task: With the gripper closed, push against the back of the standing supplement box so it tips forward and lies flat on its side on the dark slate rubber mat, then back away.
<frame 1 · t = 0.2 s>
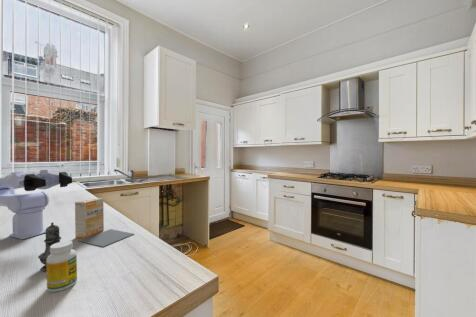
hand: (58, 181, 73), 21 cm above the countertop, tool horizontal, fingers open, 7 cm apart
slate mat: (107, 237, 77), on the countertop
supplement bottle: (62, 286, 49), on the countertop
supplement box: (90, 234, 81), on the countertop
stone chess piece: (53, 267, 57), on the countertop
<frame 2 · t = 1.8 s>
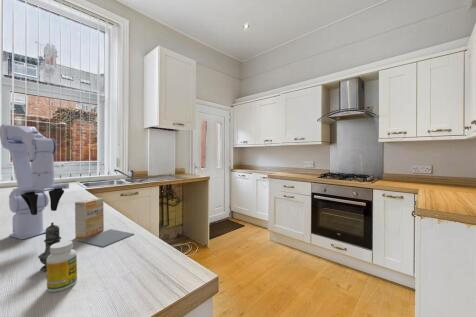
hand: (44, 212, 73), 10 cm above the countertop, tool pointing down, fingers open, 5 cm apart
nothing on the countertop moved.
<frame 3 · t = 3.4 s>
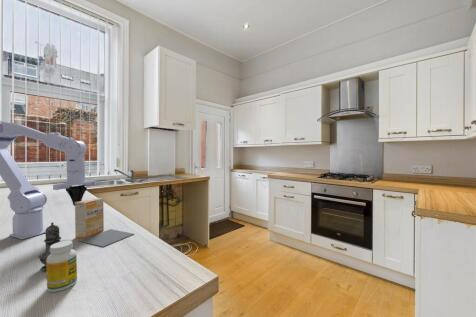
hand: (76, 205, 84), 10 cm above the countertop, tool pointing down, fingers closed
nothing on the countertop moved.
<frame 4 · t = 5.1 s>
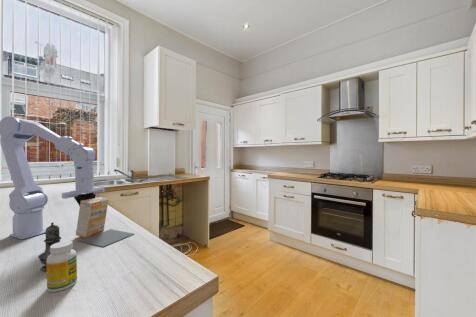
hand: (85, 213, 82), 7 cm above the countertop, tool pointing down, fingers closed
supplement box: (90, 233, 81), on the countertop, touching gripper, slate mat
everything else where it was.
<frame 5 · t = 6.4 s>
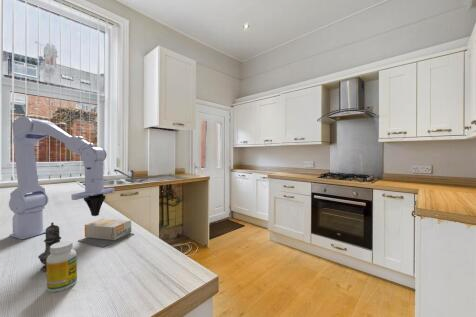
hand: (95, 215, 79), 7 cm above the countertop, tool pointing down, fingers closed
supplement box: (94, 227, 80), point 3 cm above the countertop, touching slate mat
everything else where it was.
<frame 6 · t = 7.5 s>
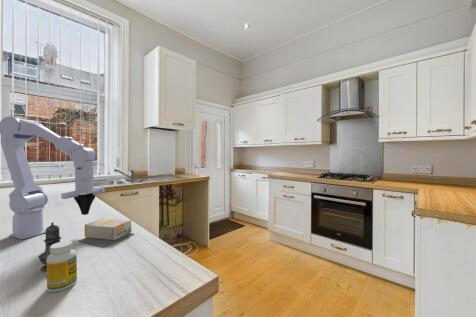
hand: (85, 214, 82), 7 cm above the countertop, tool pointing down, fingers closed
nothing on the countertop moved.
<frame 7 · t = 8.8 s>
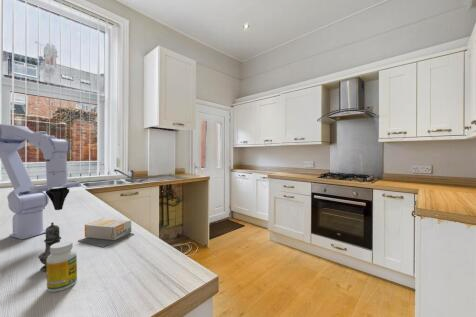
hand: (58, 209, 77), 10 cm above the countertop, tool pointing down, fingers closed
nothing on the countertop moved.
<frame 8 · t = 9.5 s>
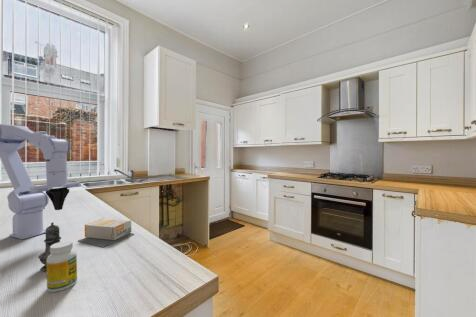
hand: (58, 209, 77), 10 cm above the countertop, tool pointing down, fingers closed
nothing on the countertop moved.
at the end: supplement box tilted 90°; supplement box inside the target area (1.2 cm from its centre), point 2.6 cm above the countertop; supplement box touching slate mat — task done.
